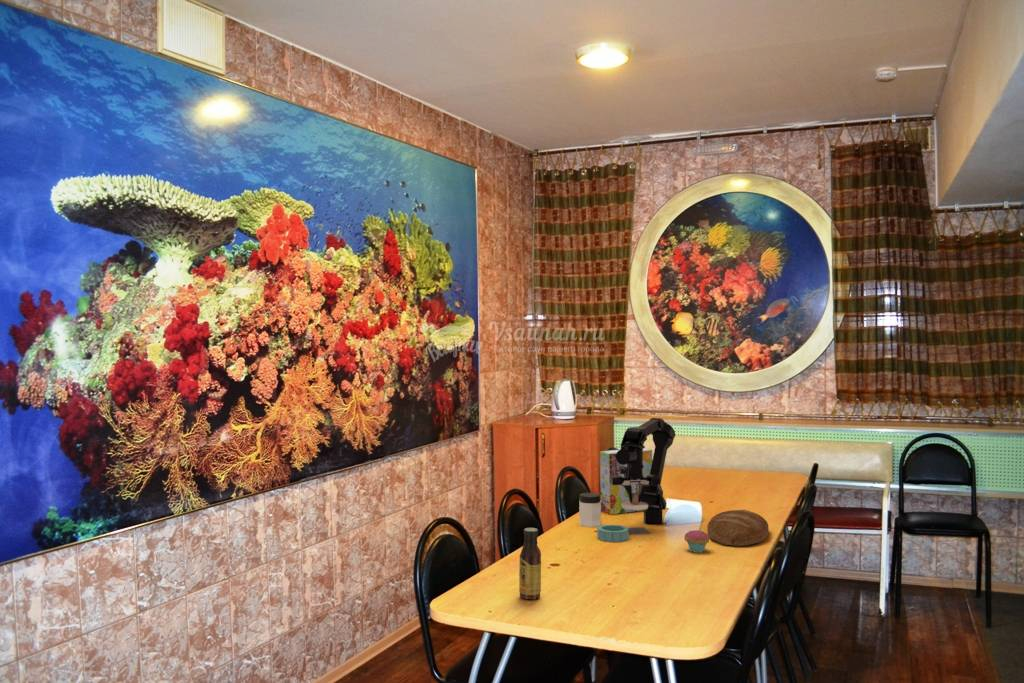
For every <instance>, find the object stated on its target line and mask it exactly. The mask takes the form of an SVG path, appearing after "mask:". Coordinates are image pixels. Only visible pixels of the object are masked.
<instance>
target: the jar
mask: <svg viewBox="0 0 1024 683" xmlns="http://www.w3.org/2000/svg"><path fill="white" fill-rule="evenodd" d="M578 501H579V505H578V506H579V507H578V510H579V511H578V517H579V518H578V523H579V526H581V527H587V528H595V527H596V528H597V527H599V526H602V519H601V518H602V517H601V516H602V511H601V493H597V492H583V493H580V494H579V500H578Z"/></svg>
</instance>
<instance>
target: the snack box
mask: <svg viewBox="0 0 1024 683" xmlns="http://www.w3.org/2000/svg"><path fill="white" fill-rule="evenodd" d="M619 450H621V448H620V449H613V450H612V449H611V450H604V451H603V450H602V451H599V463H600V464H599V468H600V469H599V470H600V472H599V475H600V479H599V481H600V497H601V500H600V502H601V512H602V511H603V512H602V513H604V512H605V513H604V514H607V513H608V514H607V515H609V514H613V515H619V514H618V513H621V514H626V513H627V512H629V513H635V511H637V512H644V511H643V510H628V509H624V508H622V507H621V504H622V503H623V502H630V501H629V498H628V495H627V492H626V489H625V487H623V486H622V485H612V484H611V483H609V478H610V476H611V475H620V476H621V477H624V474H619V466H623V465H621V464H619V463H618V462H617V460H616V454H617V452H618V451H619ZM652 460H653V449H649V448H646V447H645V448H643V477H647V475H650V471H651V465H652ZM624 466H625V467H627V464H625V465H624ZM638 483H640V482H630V485H631V486H632V493H638V491H639V485H638ZM640 502H641V501H640Z"/></svg>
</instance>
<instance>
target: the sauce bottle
mask: <svg viewBox="0 0 1024 683" xmlns="http://www.w3.org/2000/svg"><path fill="white" fill-rule="evenodd" d="M538 534H539V530H538V528H535V527H526V528H524V529H523V535H524V536H523V538H524V539H523V540H524V541H523V546H522V547H521V552H520V554H519V569H518V570H519V571H518V572H519V575H518V576H519V578H518V579H519V580H518V582H519V583H518V584H519V586H518V588H519V589H518V590H519V597H520V598H521V599H523V600H525V599H526V600H527V599H534V600H537V599H536V598H538V599H539V598H540V597H541V592H542V552H541V549H540V547H539V546H538V536H539V535H538Z"/></svg>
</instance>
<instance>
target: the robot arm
mask: <svg viewBox="0 0 1024 683" xmlns="http://www.w3.org/2000/svg"><path fill="white" fill-rule="evenodd" d="M650 435H652V441H653V444H654V451H653V454H652V465H651V471H650V475H647V477H643V448H646V447H645V442H646V441H647V440H648V436H650ZM675 438H676V431H675V429H674V428H673V426H672V425H670V424H669V423H667V422H666V421H665V420H664V419H663V418H659V417H651V418H649V420H647V421H646V422H643V423H642V424H641V425H638V426H632V427H631V426H630V427H627V428H626V430H625V431H624V434H623V438H622V439H621V442H620V449H621V450H620V449H618V450H619V451H618V452H617V454H616V460H617V462H618V463H619V464H621V465H623V466H619V474H624V477H621V476H620V475H611V476H610V478H609V483H611V484H612V485H622V486H623V487H625V489H626V492H627V495H628V498H629V501H630V503H632V486H631V485H630V482H640V483H638V485H639V491H638V494H639V503H640V501H641V502H644V503H647V504H648V509H645V511H643V522H644V523H645V524H646V525H647V526H654V525H657V526H659V525H664V522H663V510H666V507H667V501H666V499H665V497H664V491H663V487H662V485H661V484H662V479H663V473H664V468H665V463H666V458H667V452H668V449H669V448H671V446H672V445H673V443H674V439H675ZM625 464H627V467H625V466H624V465H625Z"/></svg>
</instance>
